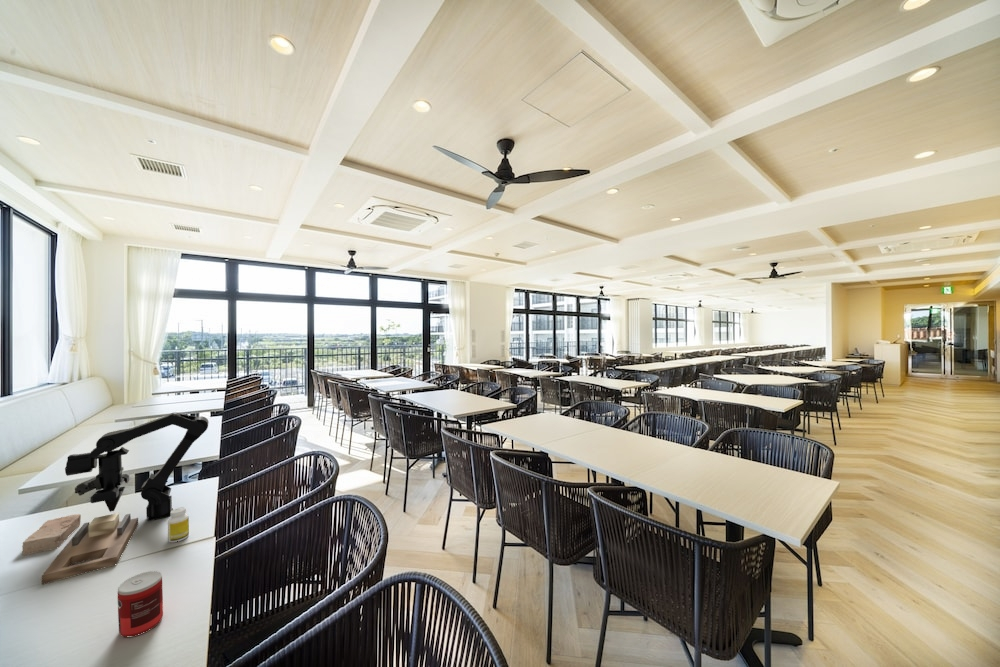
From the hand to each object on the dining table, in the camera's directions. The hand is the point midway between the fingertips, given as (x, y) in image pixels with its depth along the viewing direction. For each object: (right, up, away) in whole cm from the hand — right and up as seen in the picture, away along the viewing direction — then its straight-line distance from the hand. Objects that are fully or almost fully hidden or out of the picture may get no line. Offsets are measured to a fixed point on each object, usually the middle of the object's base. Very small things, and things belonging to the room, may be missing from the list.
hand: (112, 510), depth 134 cm
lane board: (+10, -6, -14) cm, 18 cm away
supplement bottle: (+30, -6, -7) cm, 32 cm away
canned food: (+53, -7, -44) cm, 69 cm away
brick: (-12, -7, -8) cm, 16 cm away
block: (+5, -3, -7) cm, 9 cm away
